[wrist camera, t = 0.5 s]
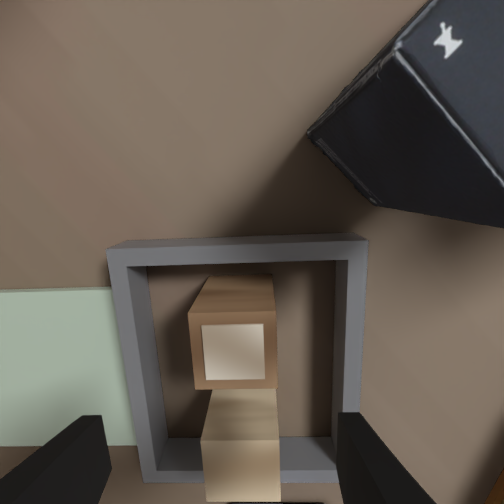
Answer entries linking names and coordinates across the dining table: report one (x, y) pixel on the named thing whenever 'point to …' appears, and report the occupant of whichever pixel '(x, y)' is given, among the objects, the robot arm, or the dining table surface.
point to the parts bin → (146, 359)
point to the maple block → (241, 446)
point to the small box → (428, 116)
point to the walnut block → (234, 333)
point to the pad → (61, 365)
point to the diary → (497, 491)
